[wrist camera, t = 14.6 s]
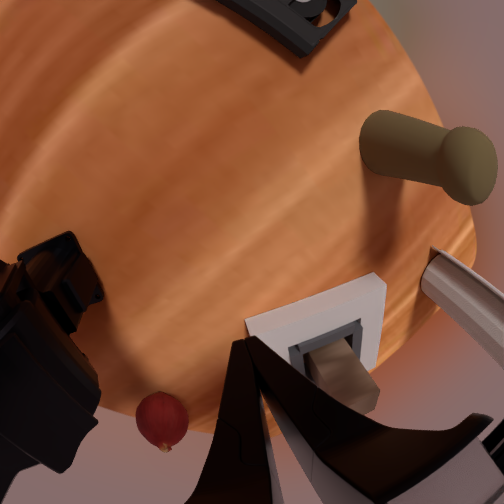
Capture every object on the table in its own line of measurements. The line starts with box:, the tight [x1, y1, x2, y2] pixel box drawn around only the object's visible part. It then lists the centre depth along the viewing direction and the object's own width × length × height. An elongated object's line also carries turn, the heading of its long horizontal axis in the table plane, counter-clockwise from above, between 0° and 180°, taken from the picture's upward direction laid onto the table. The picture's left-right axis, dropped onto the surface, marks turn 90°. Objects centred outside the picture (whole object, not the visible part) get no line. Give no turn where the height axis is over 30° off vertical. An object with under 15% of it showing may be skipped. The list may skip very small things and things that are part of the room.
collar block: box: [245, 272, 387, 384], centre depth 29 cm, size 14×14×3 cm
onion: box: [136, 392, 189, 452], centre depth 25 cm, size 6×6×8 cm
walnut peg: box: [303, 338, 380, 415], centre depth 26 cm, size 4×4×10 cm
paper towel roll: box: [421, 245, 504, 369], centre depth 21 cm, size 7×6×21 cm
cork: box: [359, 110, 498, 206], centre depth 16 cm, size 6×6×11 cm
